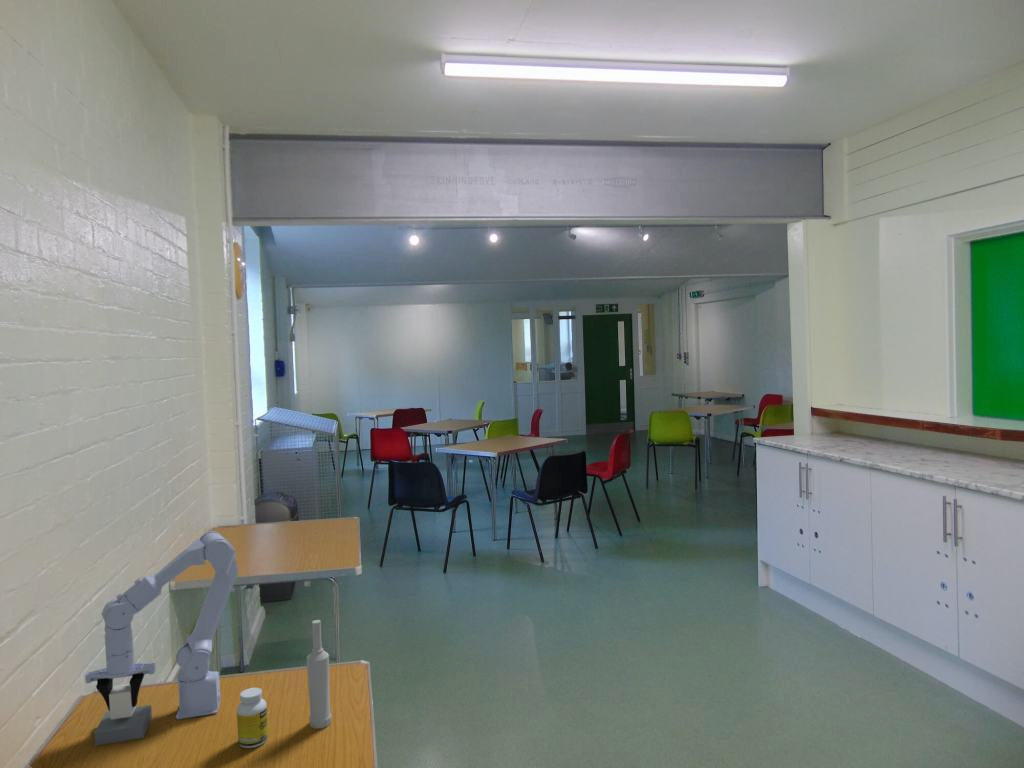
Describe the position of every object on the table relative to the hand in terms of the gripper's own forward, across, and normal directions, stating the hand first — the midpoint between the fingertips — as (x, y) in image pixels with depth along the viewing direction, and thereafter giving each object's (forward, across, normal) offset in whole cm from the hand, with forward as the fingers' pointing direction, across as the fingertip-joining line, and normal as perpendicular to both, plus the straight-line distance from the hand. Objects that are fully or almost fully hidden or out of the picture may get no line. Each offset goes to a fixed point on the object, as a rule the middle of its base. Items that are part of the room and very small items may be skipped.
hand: (123, 706), depth 170 cm
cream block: (+2, 0, 0) cm, 2 cm away
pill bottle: (+6, -30, +15) cm, 34 cm away
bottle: (+6, -45, +12) cm, 47 cm away
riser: (+6, 0, 0) cm, 6 cm away
